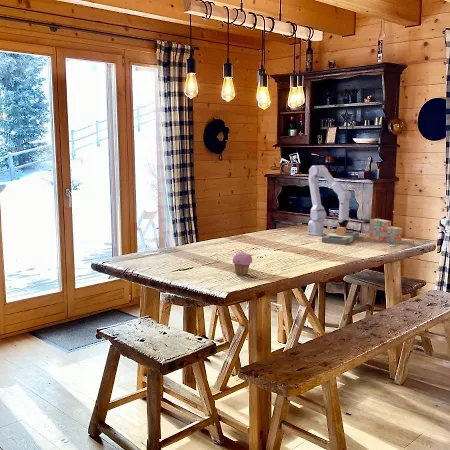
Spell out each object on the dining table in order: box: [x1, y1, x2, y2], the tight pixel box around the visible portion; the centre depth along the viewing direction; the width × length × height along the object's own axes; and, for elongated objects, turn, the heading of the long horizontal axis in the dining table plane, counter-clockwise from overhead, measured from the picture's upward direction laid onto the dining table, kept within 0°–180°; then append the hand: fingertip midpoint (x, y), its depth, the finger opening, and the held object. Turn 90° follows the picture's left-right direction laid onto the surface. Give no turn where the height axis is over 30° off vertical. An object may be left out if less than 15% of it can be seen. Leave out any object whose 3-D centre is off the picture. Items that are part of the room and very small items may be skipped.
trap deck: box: [321, 230, 360, 246], centre depth 329 cm, size 14×32×3 cm, turn 152°
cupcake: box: [232, 251, 253, 276], centre depth 239 cm, size 9×9×10 cm
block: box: [336, 226, 347, 236], centre depth 327 cm, size 4×4×4 cm
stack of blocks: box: [368, 218, 403, 245], centre depth 327 cm, size 21×6×12 cm, turn 27°
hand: (342, 232), depth 331 cm, fingers closed
